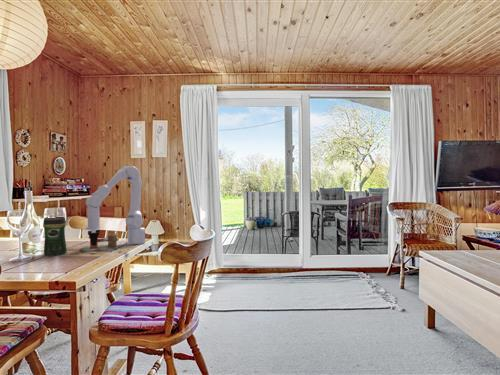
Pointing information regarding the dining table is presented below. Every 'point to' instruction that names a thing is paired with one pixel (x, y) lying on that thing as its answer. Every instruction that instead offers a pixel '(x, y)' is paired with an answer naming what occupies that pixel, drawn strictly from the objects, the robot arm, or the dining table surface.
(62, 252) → the coffee jar
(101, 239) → the hook bolt
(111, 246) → the eye bracket
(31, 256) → the dining table surface
